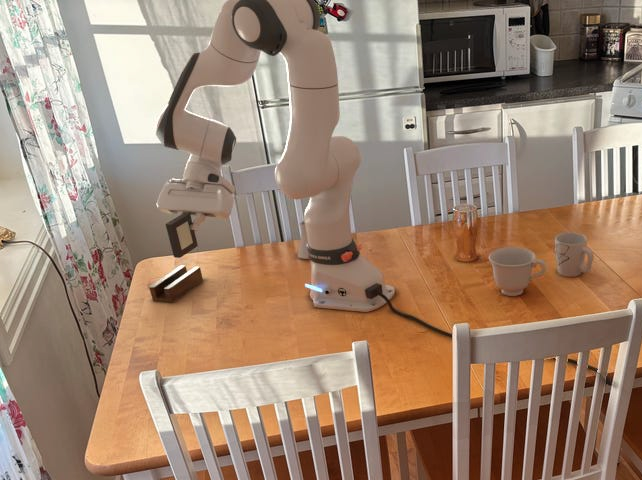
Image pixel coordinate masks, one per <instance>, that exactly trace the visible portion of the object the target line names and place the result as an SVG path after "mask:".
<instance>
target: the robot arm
mask: <svg viewBox="0 0 642 480" xmlns="http://www.w3.org/2000/svg"><path fill="white" fill-rule="evenodd" d="M320 23H321V13H320V9H319V6H318V4H317V2H316V0H226V1H225V2H224V3H223V5H222V6H221V9H220V11H219V13H218V14H217V17H216V19H215V22H214V25H213V28H212V31H211V35H210V39H209V43H208V45H207V46H206V47H205V48H204V49H203V50H202V51H200V52H194V53H193V54H192V55H191V56H190V57H189V58H188V59H187V62H186V63H185V66H184V68H183V70H182V71H181V73H180V75H179V77H178V80H177V81H176V84H175V86H174V89H173V90H172V93H171V95H170V97H169V100H168V102H167V104H166V106H165V108H164V109H163V110H162V111H161V112H160V115H159V116H158V118H157V121H156V124H155V136H156V137H157V139H158V140H159V142H160V143H161V144H162V145H163V146H164V147H165V148H168V149H172V150H176V151H181V152H185V153H188V154H190V156H189V158H188V160H187V162H186V164H185V168H184V171H183V175H182V179H180V178H179V179H176V178H170V179H169V180H167V181H165V182H164V184H163V187H162V189H161V190H160V193H159V195H158V198H157V201H156V207H157V209H158V210H159V211H161V212H162V213H164V214H171V215H172V214H173V215H176V216H177V217H178V216H180V215H182V214H183V213H190V215H191V216H194V217H196V218H195V219H193V220H194V221H192V223H191V222H190V226H189V229H190V230H191V231H194V232H198V231H199V227H200V226H201V225H202V224H203V223H204V222H205V220H206V217H207V218H217V219H218V218H219V219H228V218H229V217H230V216H231V215H232V211H233V207H234V203H235V202H234V201H235V198H234V194H235V191H236V187H235V186H234V185H233V184H232V183H231V182H230V181H229V180H228V179H227V178H225V177H224V176H223V175H222V167H223V166H224V165H225V164H227V163H229V162H230V161H232V155H233V150H234V148H235V146H236V143H237V137H236V135H235V133H234V131H233V130H232V128H231V127H230V126H228V125H226V124H224V123H223V122H221V121H219V120H216V119H212V118H211V119H209V118H207V117H203V116H201V115H198V114H195V113H193V112H190V111H188V110H187V109H186V108H187V106H188V104H189V102H190V100H191V97H192V95H193V93H194V92H195V90H197V89H199V88H201V87H210V86H211V87H226V88H227V87H236V86H240V85H243V84H245V83H246V82H248V81H250V79H251V78H253V75H254V73H255V71H256V69H257V65H258V63H259V60H260V56H261V52H263V53H265V54H266V55H268V56H271V57H275V56H277V55H278V54H280V55H281V56H282V58H283V60H284V61H285V65H286V73H287V87H288V97H289V112H290V114H289V115H290V116H289V117H290V119H289V128H288V134H287V140H286V144H285V147H284V149H283V150H284V151H283V153H282V156H281V157H280V159H279V161H278V163H277V164H276V166H275V170H274V178H275V183H276V184H277V186H278V188H279V190H280V192H282V193H283V194H284V196H286V197H287V198H289V199H292V200H304V199H309V202H308V204H307V207H306V208H305V211H304V215H303V221H305V227H306V233H307V240H308V243H307V252H308V258H309V259H308V260H309V262H310V275H311V276H310V277H311V278H310V284H308V283H304V286H305V288H309V289H310V291H309V298H310V299H311V300H312V301H313V307H314V308H319V309H329V310H330V309H331V310H340V311H349V312H350V311H351V312H361V313H369V312H372V311H375V310H377V309H379V308H381V307H383V306H384V305H386V304H387V306H388V308H389V309H390V310H391V311H392V312H393V313H395V314H396V315H398V316H400V317H403V318H406V319H410V320H412V321H414V322H416V323H418V324H420V325H422V326H424V327H425V328H427V329H430V330H432V331H434V332H436V333H438V334H441V335H444V336H447V337H449V338H452V334H453V333H450V332H447V331H445V330H442V329H440V328H437V327H435V326H433V325H430V324H429V323H427V322H425V321H423V320H421V319H420V318H417V317H415V316H413V315H411V314H406V313H403V312H401V311H399V310H397V309H396V308H395V307H394V306H393V304H392V302H391V299H392V298H393V297H394V296H395V293H396V289H395V287H394V286H392V285H389V284H386V280H385V278H384V274H383V272H382V271H381V270H380V269H379V268H378V267H376V266H375V265H374V264H372V262H370V261H369V260H368V259H367V258H365V257H364V256H363V255H362V254H361V252H360V250H362V249H363V247H362V245H363V244H362V243H360V244H359V245H357V243H356V242H355V239H353V236H352V226H351V217H350V205H351V197H352V196H351V195H352V191H353V190H352V189H353V184H354V179H355V176H356V174H357V172H358V170H359V168H360V165H361V162H362V161H361V160H362V158H361V153H360V152H361V151H360V150H359V148H358V146H357V144H356V143H355V142H354V141H353V140H352V139H351V138H349V137H347V136H343V135H340V136H338V135H337V136H333V134H334V131H335V129H336V127H337V125H338V124H339V122H340V118H341V112H340V111H341V110H340V109H341V108H340V95H339V94H340V93H339V92H340V91H339V79H338V69H337V62H336V61H337V60H336V57H335V52H334V49H333V48H334V47H333V44H332V41H331V39H330V37H329V36H328V35H327V34H325V33H324V32H323V31H320V30H319V27H320ZM552 360H555V361H557V360H556V359H555V358H553V359H552ZM577 361H578V360H576V359H572V358H568V362H567V363H570V364H573V365H577ZM587 365H588V370H590V371H592V372H595V373H597V370H598V369H599V368H598V367H595V366H593V365H590V364H587ZM605 383H606V384H607V386H608V387H611V386H613V384H612V381H611V380H610V379H609V377H608V375H606V381H605Z"/></svg>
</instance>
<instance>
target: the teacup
mask: <svg viewBox="0 0 642 480" xmlns="http://www.w3.org/2000/svg"><path fill="white" fill-rule="evenodd" d="M488 260H489V261H490V262H491V266H492V274H493V279H494V282H495V285H496V287H498V288H499V289H501V294H503V295H505V296H506V297H507V296H508V297H516V296H520V295H522V294H523V293H524V289H525V288H527V287H528V285H529V284H530V282H531V281H532V280H533V279H535V278H539V277H541V276H543V275H544V274H545V273H546V270H547V264H546V262H545V261H544V260H543V259H541V258H540V259H537V255H536V254H535V252H534V251H532V250H530V249H529V248H525V247H521V246H520V247H519V246H506V247H501V248H496V249H495V250H493V251H492V252H490V253H489V254H488ZM537 265H540V266H541V267H542V270H541V271H539V272H536V273H534V274H532V269H536V268H537Z"/></svg>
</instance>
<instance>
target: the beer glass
mask: <svg viewBox="0 0 642 480" xmlns="http://www.w3.org/2000/svg"><path fill="white" fill-rule="evenodd" d="M452 226H453V233H454V238H455V242H456V254H455V258H456V260H457V261H459V262H461V263H469V262H474V261H476V260H477V259H478V254H477V249H476V245H477V244H476V242H477V237H478V229H479V217H478V208H477V206H476V205H475V204H473V203H472V204H471V203H460V204H456V205H454V206H453V207H452Z"/></svg>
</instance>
